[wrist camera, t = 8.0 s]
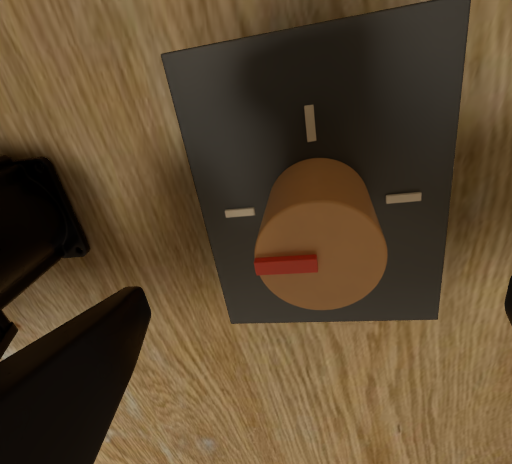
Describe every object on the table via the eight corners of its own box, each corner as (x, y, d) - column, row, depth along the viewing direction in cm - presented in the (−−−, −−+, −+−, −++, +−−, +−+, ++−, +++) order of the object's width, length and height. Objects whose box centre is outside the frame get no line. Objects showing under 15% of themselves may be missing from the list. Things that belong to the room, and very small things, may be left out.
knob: (368, 151, 14) (391, 197, 10) (369, 244, 16) (389, 315, 12) (262, 163, 15) (241, 211, 11) (275, 249, 17) (263, 318, 13)
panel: (422, 283, 20) (439, 322, 17) (240, 291, 22) (230, 326, 20) (442, 1, 14) (474, -9, 11) (184, 51, 16) (158, 53, 13)
